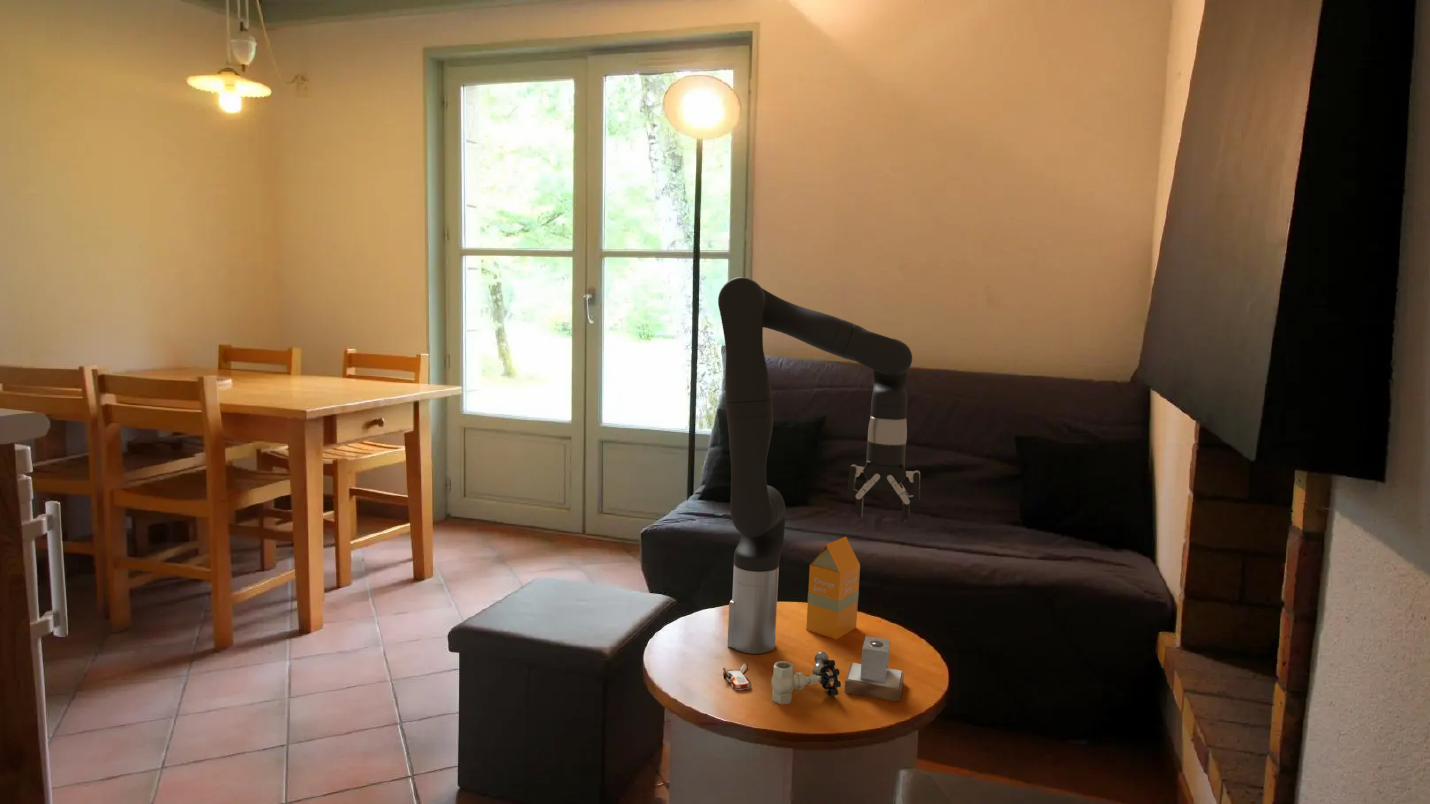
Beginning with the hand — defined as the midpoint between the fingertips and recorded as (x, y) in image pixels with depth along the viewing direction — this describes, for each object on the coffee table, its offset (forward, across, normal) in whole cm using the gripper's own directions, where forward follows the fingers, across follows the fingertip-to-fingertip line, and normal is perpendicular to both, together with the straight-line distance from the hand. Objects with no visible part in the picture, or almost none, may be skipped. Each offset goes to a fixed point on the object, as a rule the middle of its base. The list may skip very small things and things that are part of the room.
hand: (881, 518), depth 170 cm
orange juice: (+28, -10, +9) cm, 31 cm away
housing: (+26, +2, -16) cm, 30 cm away
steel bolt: (+28, -9, -13) cm, 32 cm away
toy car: (+29, -23, -23) cm, 43 cm away
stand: (+28, +2, -16) cm, 32 cm away
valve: (+28, -10, -25) cm, 39 cm away
